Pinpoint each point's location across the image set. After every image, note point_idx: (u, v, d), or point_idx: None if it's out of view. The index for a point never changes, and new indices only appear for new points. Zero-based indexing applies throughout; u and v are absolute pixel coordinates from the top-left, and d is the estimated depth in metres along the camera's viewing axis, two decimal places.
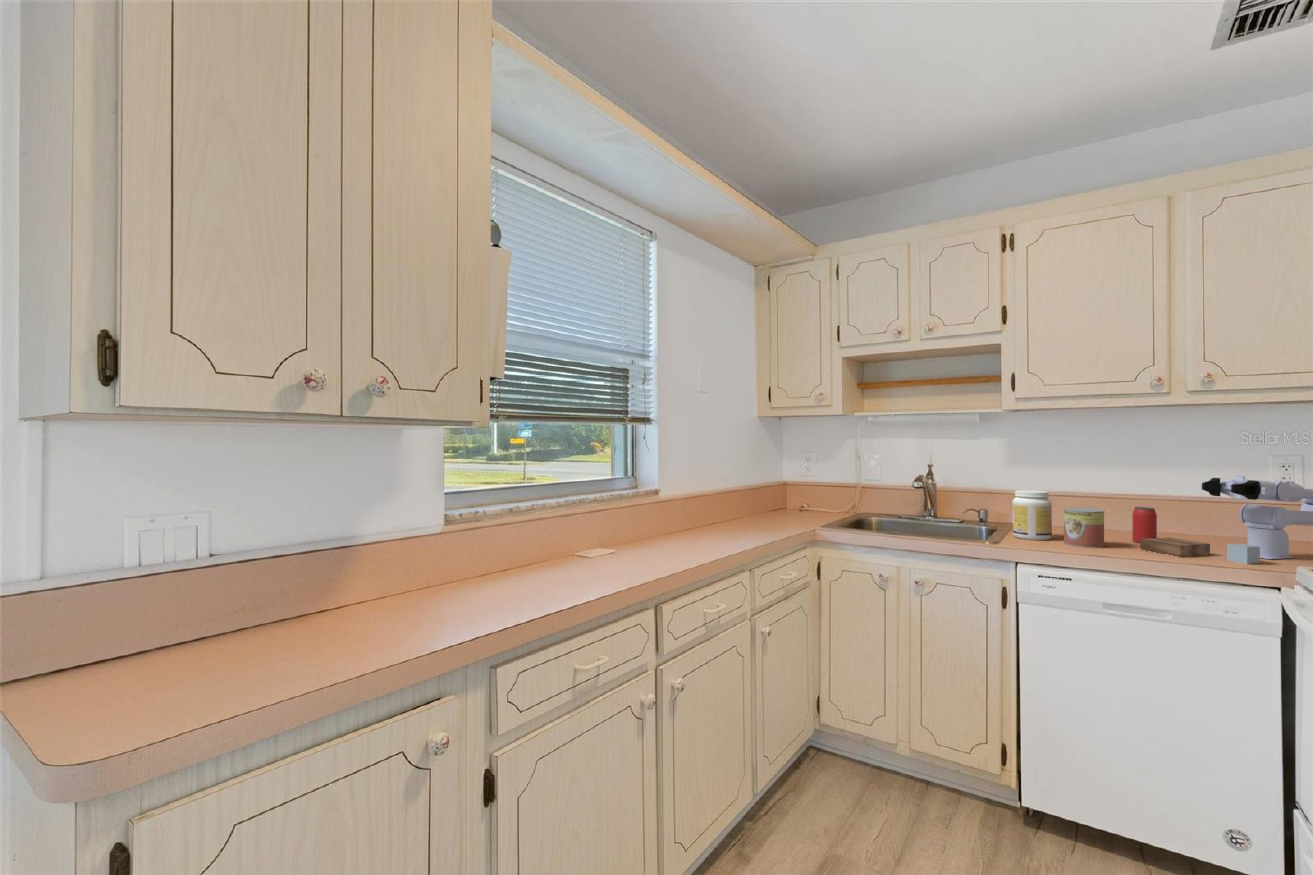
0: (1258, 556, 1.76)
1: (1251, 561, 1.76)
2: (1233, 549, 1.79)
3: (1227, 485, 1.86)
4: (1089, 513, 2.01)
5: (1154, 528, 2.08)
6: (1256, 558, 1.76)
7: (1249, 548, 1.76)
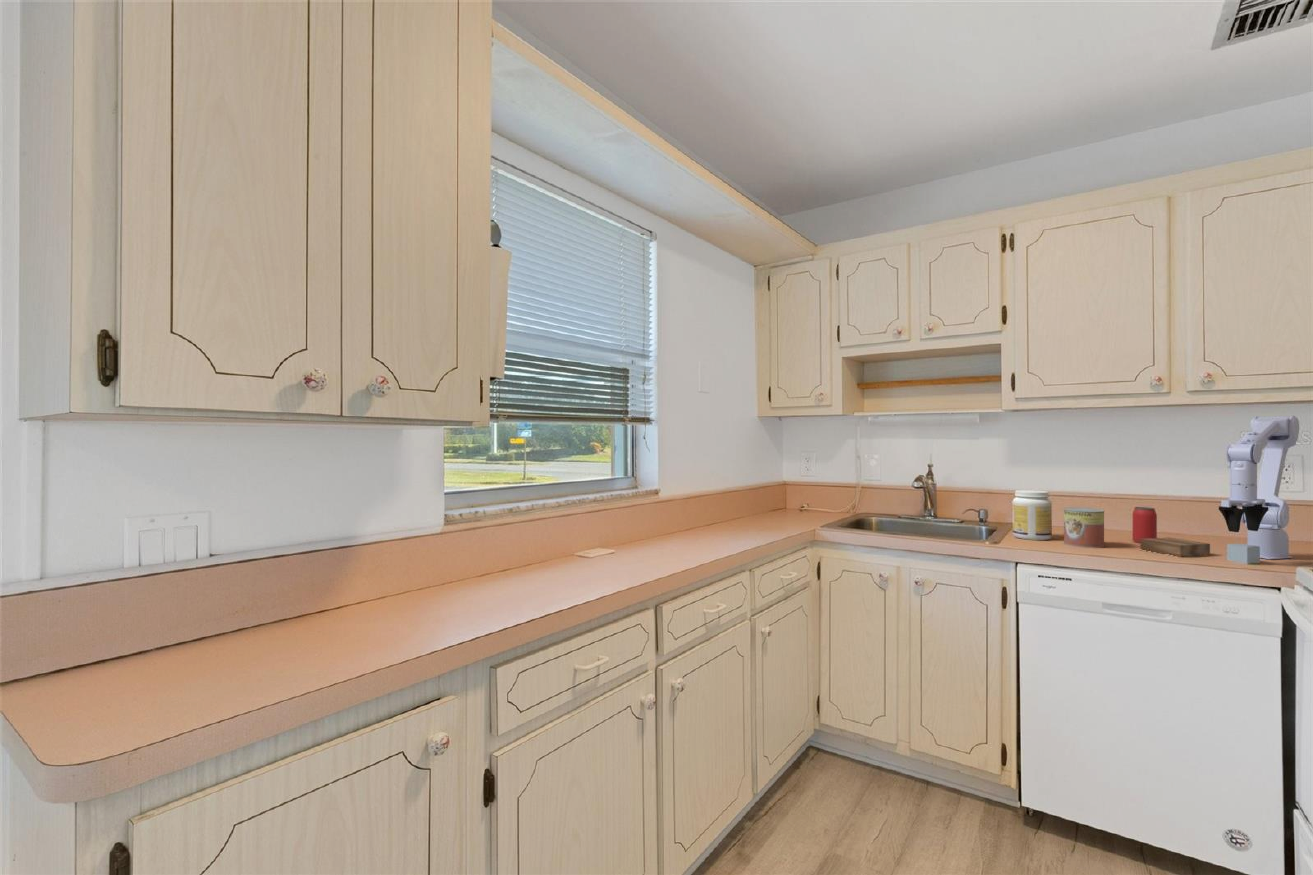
0: (1258, 556, 1.76)
1: (1251, 561, 1.76)
2: (1233, 549, 1.79)
3: (1239, 504, 1.77)
4: (1089, 513, 2.01)
5: (1154, 528, 2.08)
6: (1256, 558, 1.76)
7: (1249, 548, 1.76)
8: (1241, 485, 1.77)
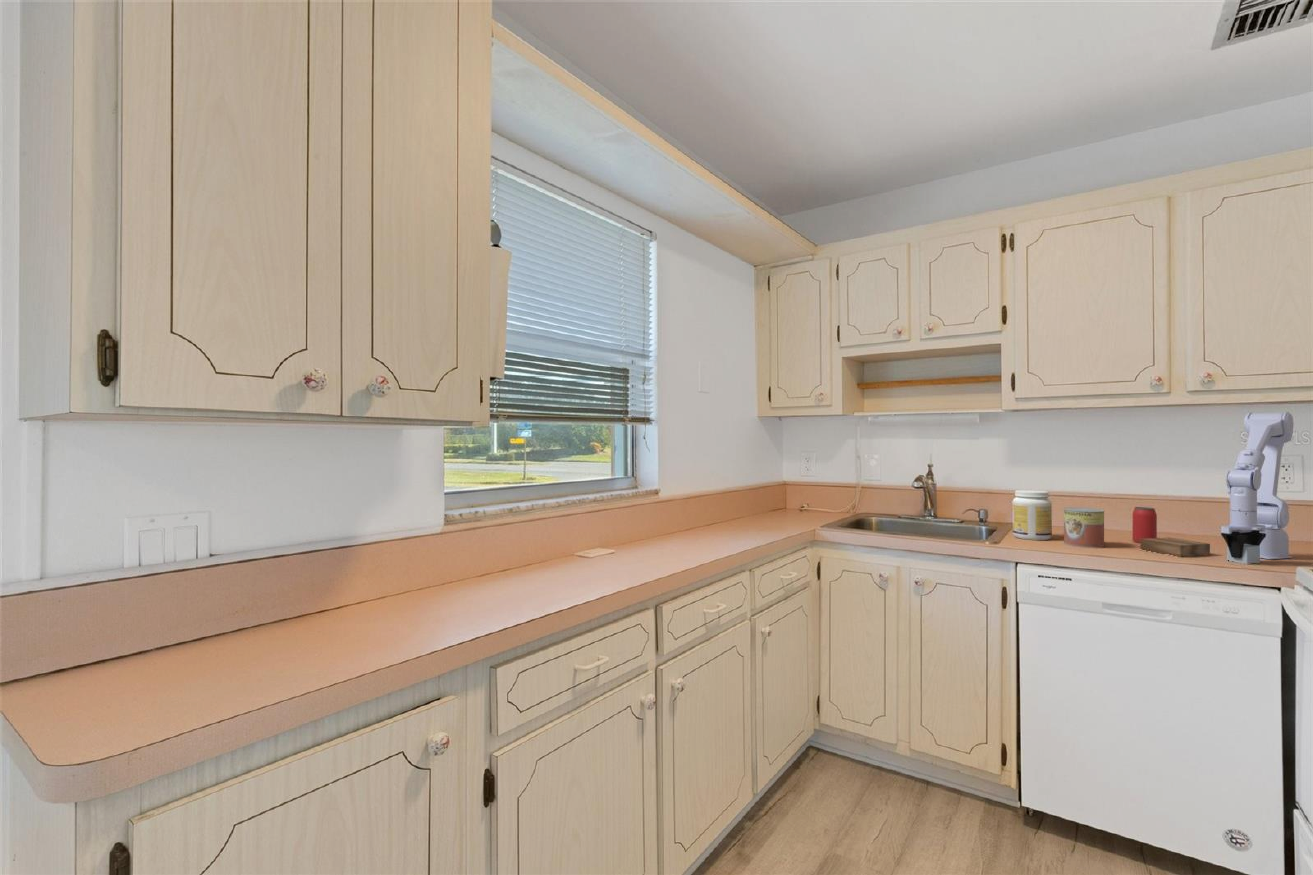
0: (1258, 556, 1.77)
1: (1251, 561, 1.76)
2: None
3: (1239, 530, 1.77)
4: (1089, 513, 2.01)
5: (1154, 528, 2.08)
6: (1256, 558, 1.76)
7: (1249, 548, 1.76)
8: (1241, 511, 1.77)
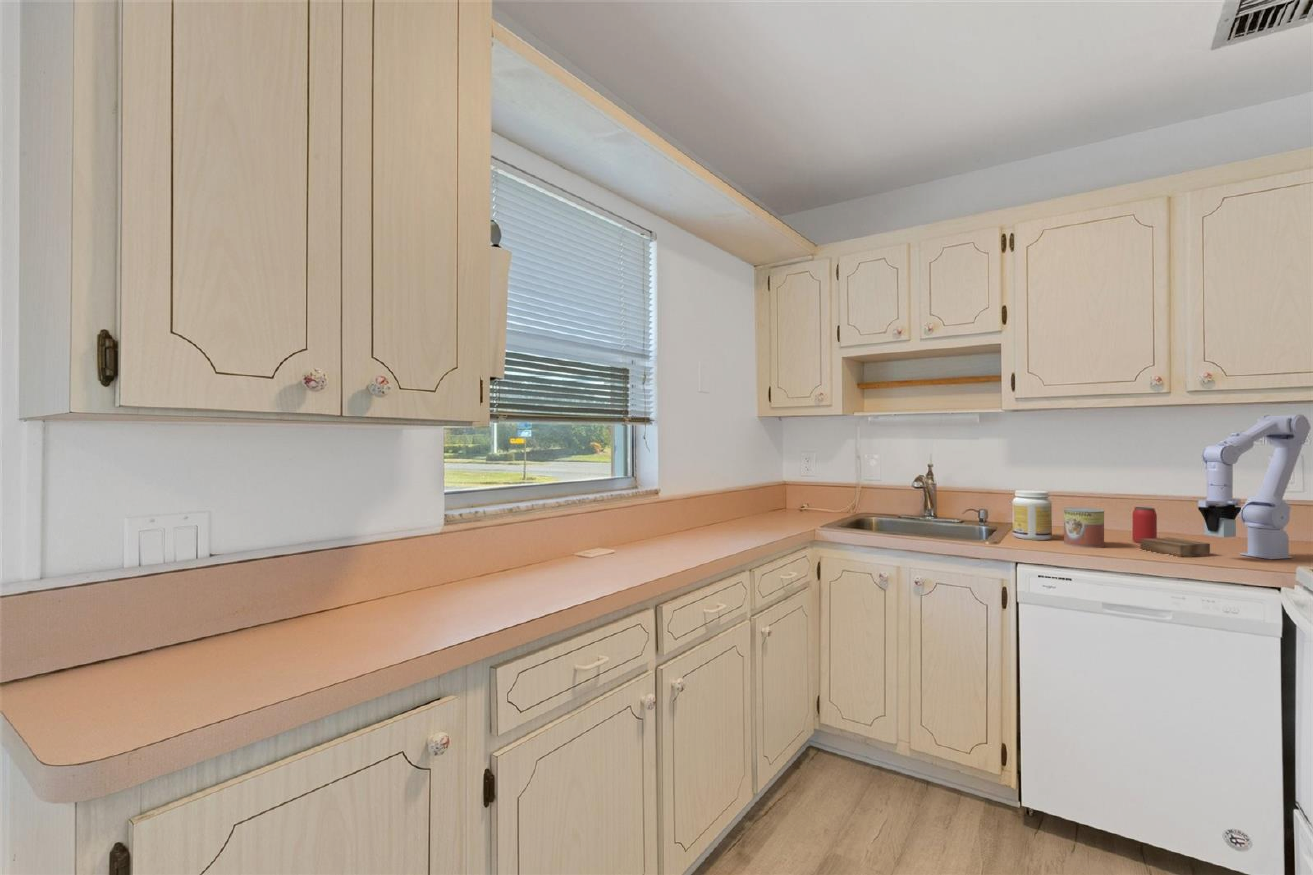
0: (1234, 529, 1.81)
1: (1227, 534, 1.80)
2: None
3: (1216, 504, 1.82)
4: (1089, 513, 2.01)
5: (1154, 528, 2.08)
6: (1232, 531, 1.81)
7: (1225, 521, 1.80)
8: (1217, 486, 1.81)
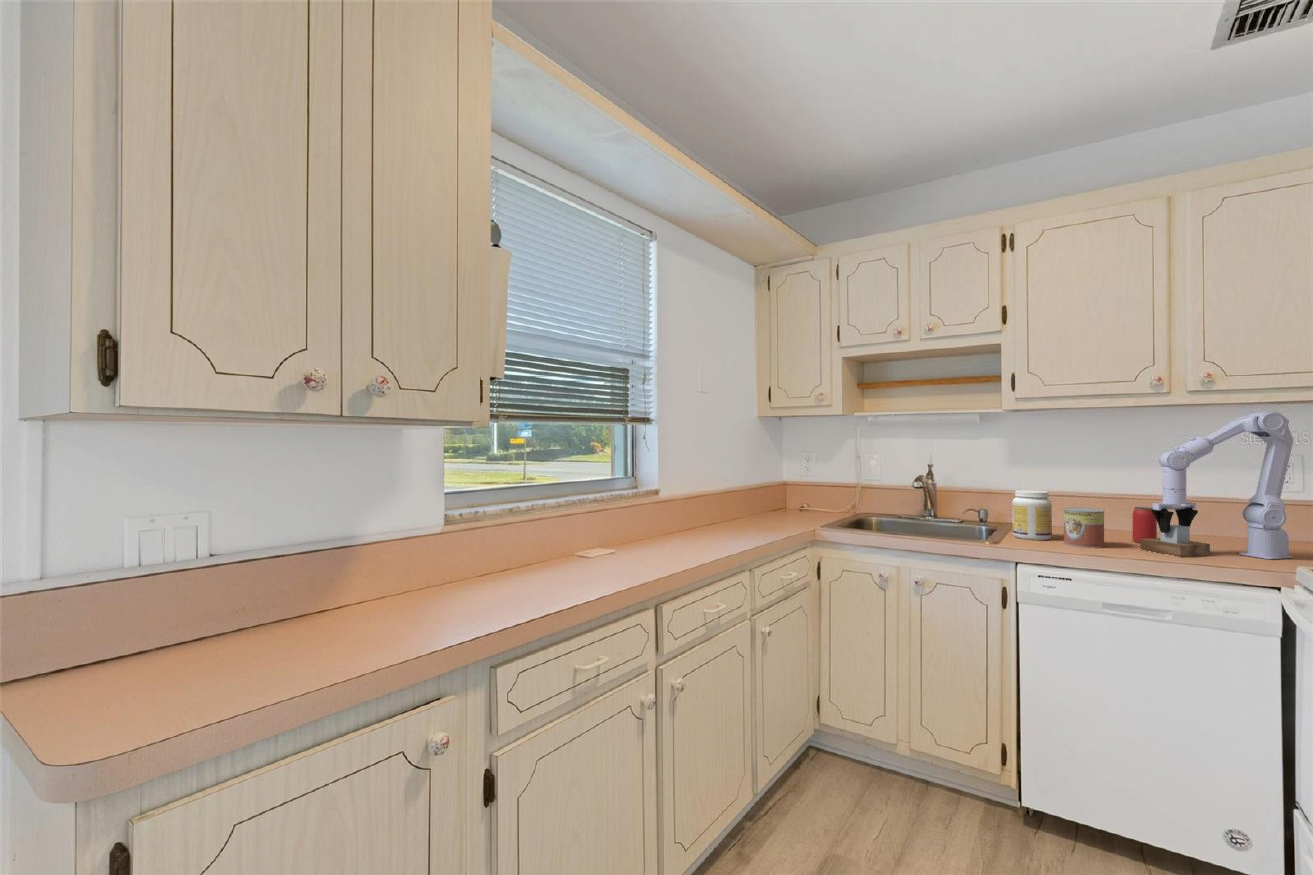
0: (1188, 535, 1.91)
1: (1181, 540, 1.90)
2: None
3: (1170, 507, 1.92)
4: (1089, 513, 2.01)
5: (1154, 528, 2.08)
6: (1186, 537, 1.90)
7: (1179, 528, 1.90)
8: (1171, 490, 1.91)
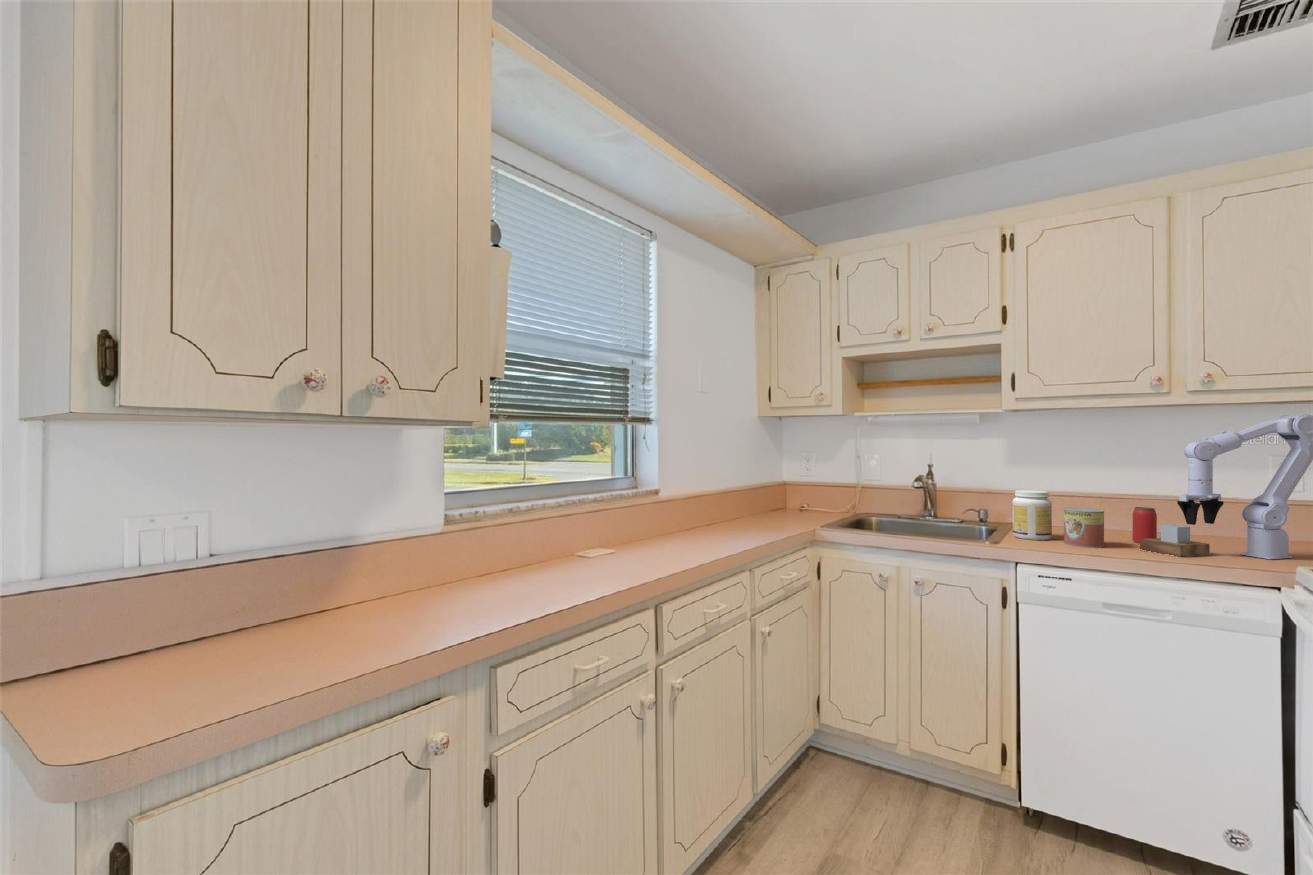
0: (1188, 536, 1.91)
1: (1181, 540, 1.90)
2: (1166, 529, 1.93)
3: (1196, 498, 1.89)
4: (1089, 513, 2.01)
5: (1154, 528, 2.08)
6: (1187, 538, 1.90)
7: (1179, 528, 1.90)
8: (1198, 481, 1.88)
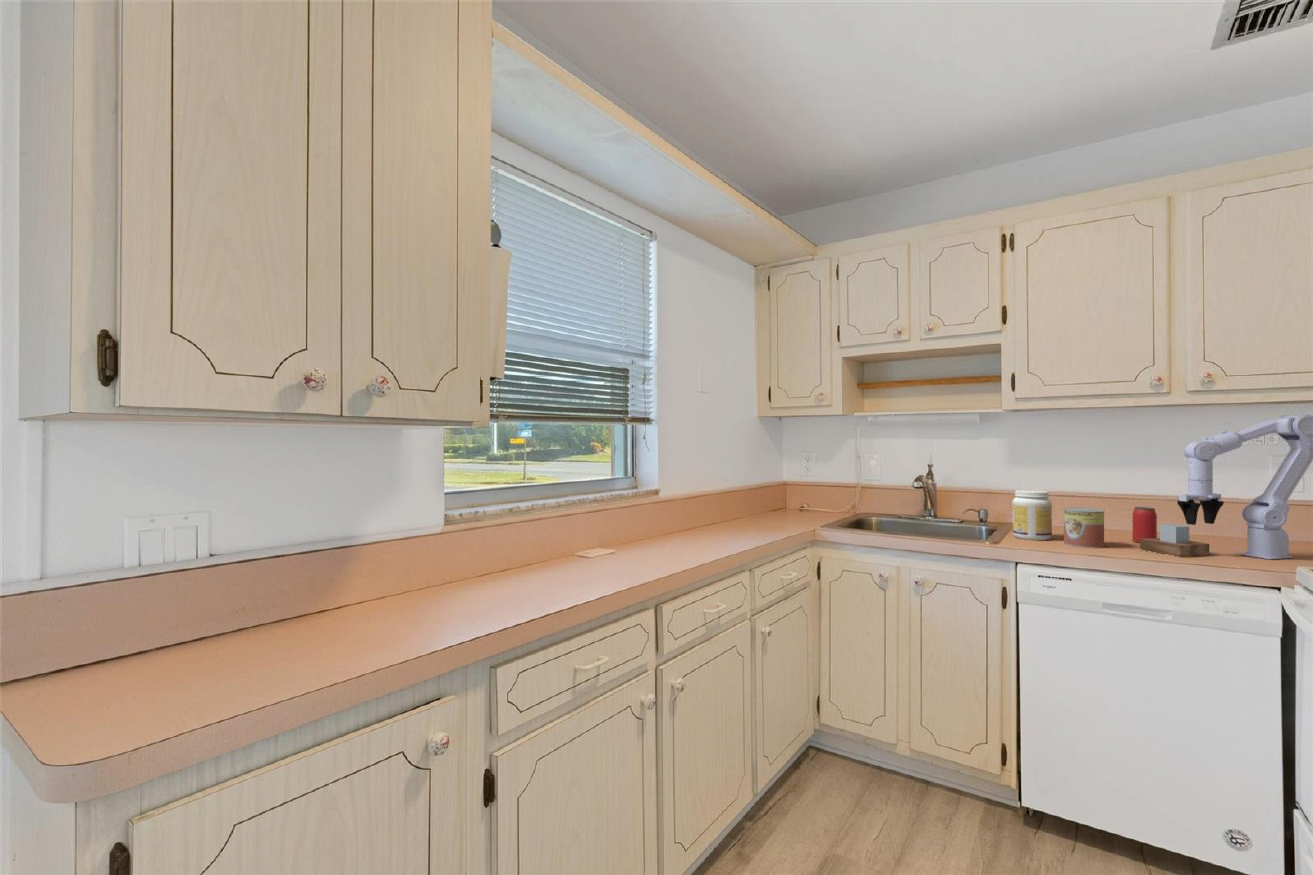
0: (1187, 535, 1.91)
1: (1180, 540, 1.90)
2: (1165, 529, 1.93)
3: (1196, 498, 1.89)
4: (1089, 513, 2.01)
5: (1154, 528, 2.08)
6: (1186, 537, 1.91)
7: (1178, 528, 1.90)
8: (1198, 481, 1.88)
